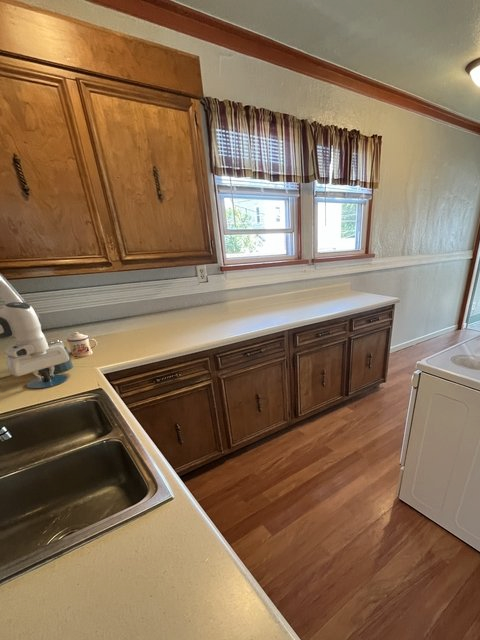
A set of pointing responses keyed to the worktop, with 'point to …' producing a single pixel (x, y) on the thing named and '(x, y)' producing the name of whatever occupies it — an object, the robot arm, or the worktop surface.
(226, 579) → the worktop surface
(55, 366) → the tin
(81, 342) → the teacup with lid
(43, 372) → the lid
